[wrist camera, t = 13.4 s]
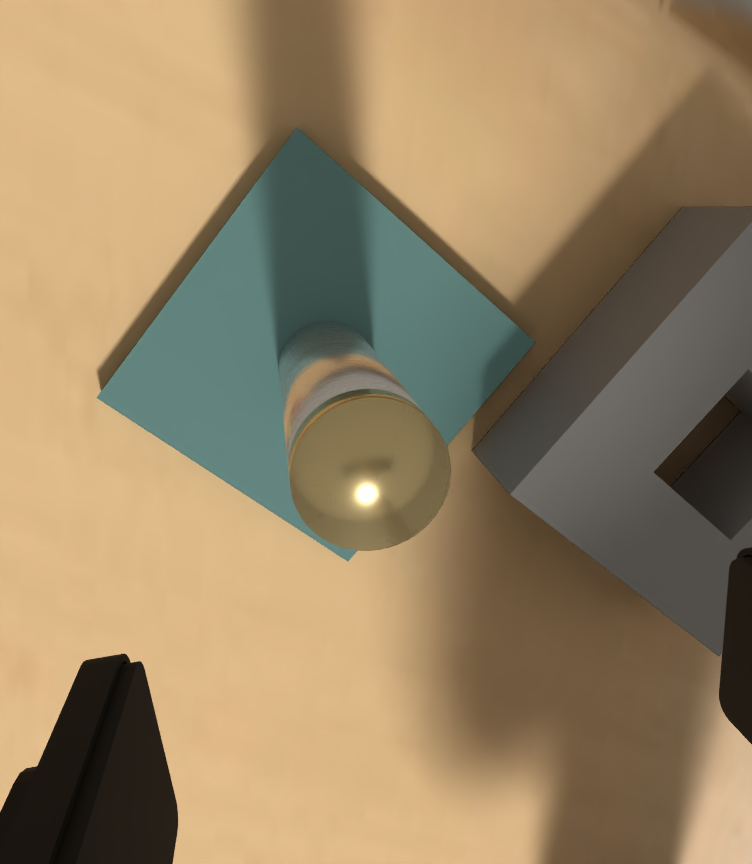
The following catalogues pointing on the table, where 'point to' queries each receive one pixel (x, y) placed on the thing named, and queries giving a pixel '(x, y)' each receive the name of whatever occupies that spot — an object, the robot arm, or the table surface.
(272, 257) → the mat
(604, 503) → the block
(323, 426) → the peg
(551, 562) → the table surface
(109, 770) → the robot arm
